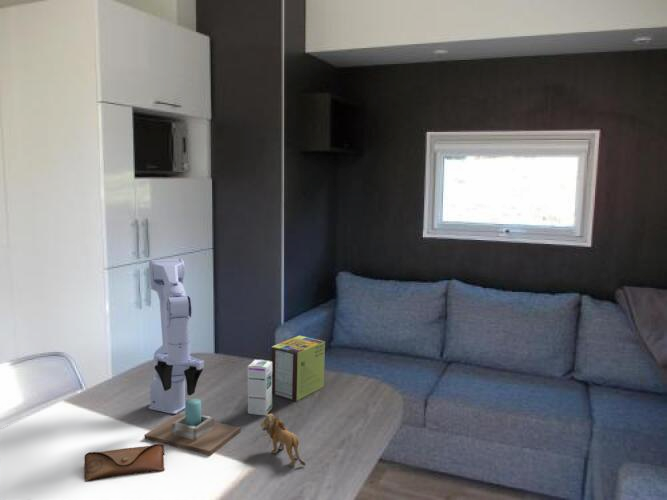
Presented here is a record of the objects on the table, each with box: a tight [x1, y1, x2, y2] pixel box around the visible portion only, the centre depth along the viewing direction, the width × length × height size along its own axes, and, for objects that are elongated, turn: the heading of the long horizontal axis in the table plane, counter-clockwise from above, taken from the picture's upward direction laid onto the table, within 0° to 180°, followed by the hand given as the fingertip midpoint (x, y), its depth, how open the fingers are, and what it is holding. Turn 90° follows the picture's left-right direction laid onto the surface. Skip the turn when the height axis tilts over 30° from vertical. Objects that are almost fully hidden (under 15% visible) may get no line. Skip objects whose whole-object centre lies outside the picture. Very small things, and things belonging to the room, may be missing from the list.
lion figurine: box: [260, 413, 306, 467], centre depth 138 cm, size 15×5×9 cm, turn 47°
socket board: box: [143, 413, 242, 456], centre depth 148 cm, size 20×14×4 cm
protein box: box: [270, 335, 326, 402], centre depth 179 cm, size 10×15×16 cm
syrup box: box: [247, 359, 273, 417], centre depth 163 cm, size 6×6×14 cm
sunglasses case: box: [83, 443, 166, 483], centre depth 131 cm, size 18×7×7 cm, turn 110°
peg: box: [184, 398, 202, 427], centre depth 147 cm, size 4×4×8 cm
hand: (179, 391), depth 150 cm, fingers open, 7 cm apart
